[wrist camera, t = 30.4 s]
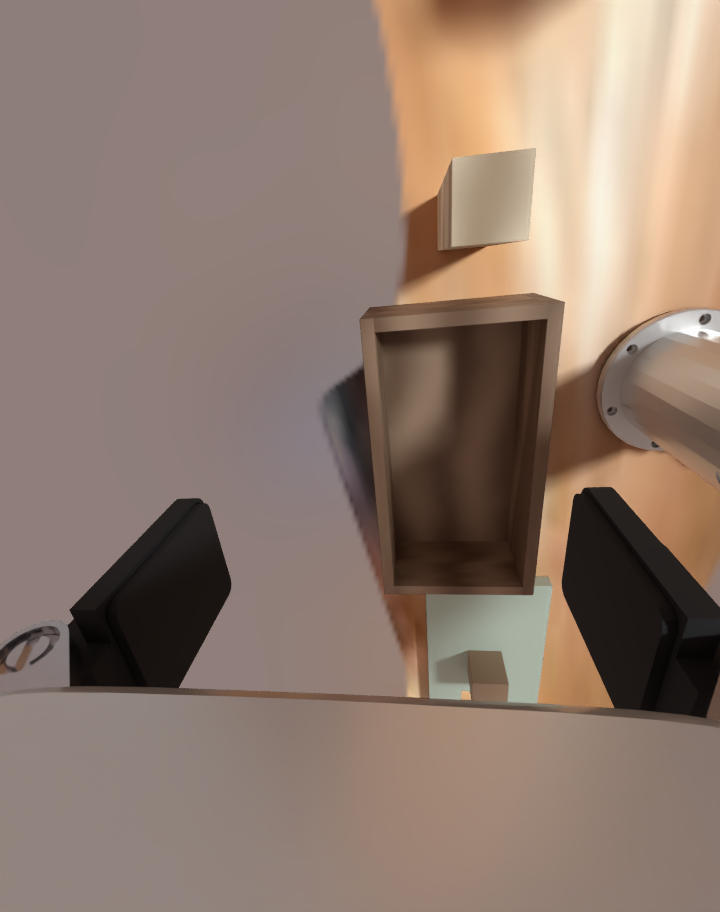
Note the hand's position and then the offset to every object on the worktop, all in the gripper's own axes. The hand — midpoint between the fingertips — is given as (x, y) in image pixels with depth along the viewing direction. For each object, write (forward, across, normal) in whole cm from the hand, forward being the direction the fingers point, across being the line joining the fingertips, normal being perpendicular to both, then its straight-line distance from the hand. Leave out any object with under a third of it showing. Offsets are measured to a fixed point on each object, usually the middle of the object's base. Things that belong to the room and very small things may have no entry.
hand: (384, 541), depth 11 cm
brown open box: (+30, -4, +10) cm, 32 cm away
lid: (+30, -8, +41) cm, 52 cm away
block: (+30, -5, -9) cm, 32 cm away
